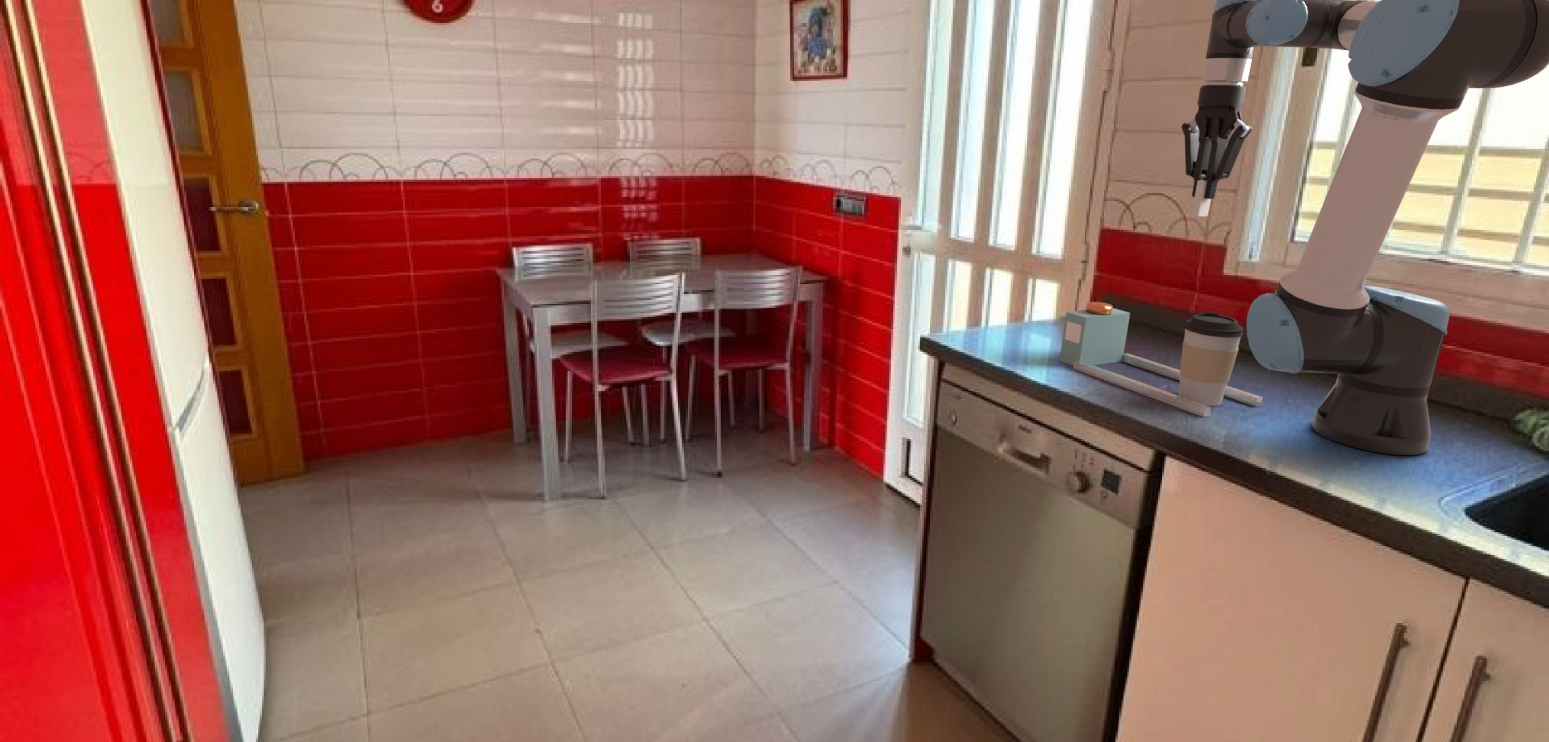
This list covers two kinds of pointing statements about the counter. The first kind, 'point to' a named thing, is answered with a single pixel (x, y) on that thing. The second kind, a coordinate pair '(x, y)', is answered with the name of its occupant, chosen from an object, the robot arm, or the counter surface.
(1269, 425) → the counter surface
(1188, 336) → the coffee cup
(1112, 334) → the cabinet
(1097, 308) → the knob
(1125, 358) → the parallel base rails
